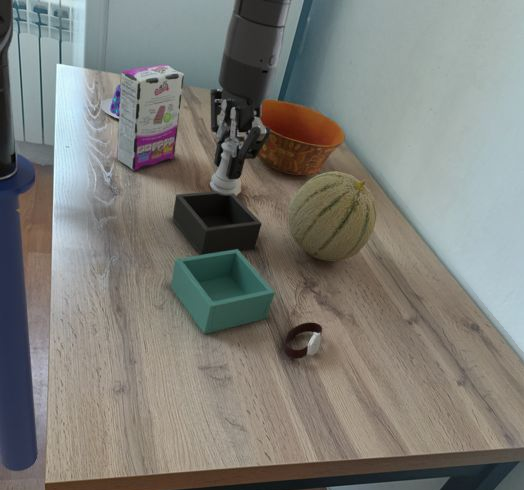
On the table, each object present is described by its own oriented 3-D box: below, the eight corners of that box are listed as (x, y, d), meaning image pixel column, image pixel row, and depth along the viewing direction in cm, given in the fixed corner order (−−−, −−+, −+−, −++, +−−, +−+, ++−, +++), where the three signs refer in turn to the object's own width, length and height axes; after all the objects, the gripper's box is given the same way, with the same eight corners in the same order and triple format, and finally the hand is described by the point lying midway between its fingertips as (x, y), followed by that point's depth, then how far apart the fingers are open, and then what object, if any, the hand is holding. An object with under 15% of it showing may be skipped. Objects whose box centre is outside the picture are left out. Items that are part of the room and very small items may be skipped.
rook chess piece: (227, 180, 89) (237, 134, 83) (241, 195, 87) (253, 147, 81) (204, 183, 86) (213, 134, 81) (218, 197, 84) (228, 149, 79)
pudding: (138, 99, 124) (140, 76, 121) (166, 123, 119) (169, 99, 115) (90, 101, 117) (90, 76, 114) (117, 127, 112) (119, 102, 108)
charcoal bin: (200, 257, 87) (206, 230, 83) (172, 220, 92) (175, 194, 89) (254, 248, 92) (262, 223, 89) (224, 214, 98) (230, 189, 94)
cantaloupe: (269, 227, 99) (291, 149, 88) (338, 230, 104) (367, 157, 94) (296, 278, 89) (324, 198, 79) (371, 278, 95) (406, 203, 85)
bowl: (290, 138, 130) (302, 96, 123) (349, 183, 120) (365, 141, 113) (220, 144, 118) (229, 98, 111) (278, 195, 108) (292, 148, 101)
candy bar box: (156, 148, 110) (166, 63, 98) (174, 159, 108) (186, 74, 97) (114, 159, 102) (119, 69, 91) (133, 172, 101) (140, 81, 89)
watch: (301, 369, 74) (309, 350, 72) (273, 351, 75) (280, 332, 73) (326, 342, 80) (334, 324, 77) (299, 325, 81) (306, 307, 78)
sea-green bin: (204, 334, 74) (210, 306, 71) (170, 286, 80) (175, 258, 76) (266, 318, 80) (275, 292, 77) (231, 275, 85) (237, 248, 82)
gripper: (202, 32, 74) (184, 150, 86) (255, 75, 67) (228, 197, 79) (248, 36, 78) (225, 149, 90) (302, 77, 71) (269, 193, 83)
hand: (226, 171), depth 84 cm, fingers closed on rook chess piece, 3 cm apart
